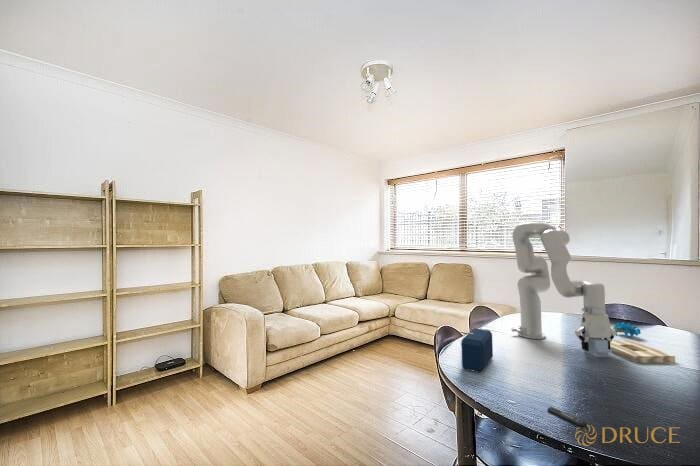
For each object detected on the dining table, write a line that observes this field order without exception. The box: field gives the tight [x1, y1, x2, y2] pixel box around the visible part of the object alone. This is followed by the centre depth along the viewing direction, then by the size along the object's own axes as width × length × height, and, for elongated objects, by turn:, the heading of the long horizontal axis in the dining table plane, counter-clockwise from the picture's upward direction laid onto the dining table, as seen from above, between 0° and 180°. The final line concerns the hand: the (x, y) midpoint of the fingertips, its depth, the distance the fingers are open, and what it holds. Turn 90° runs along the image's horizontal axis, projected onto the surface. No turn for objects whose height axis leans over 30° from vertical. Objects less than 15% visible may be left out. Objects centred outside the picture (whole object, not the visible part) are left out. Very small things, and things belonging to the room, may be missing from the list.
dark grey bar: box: [547, 406, 588, 429], centre depth 88 cm, size 10×3×2 cm, turn 28°
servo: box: [580, 338, 613, 358], centre depth 136 cm, size 5×11×7 cm, turn 179°
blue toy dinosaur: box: [612, 322, 642, 339], centre depth 159 cm, size 11×6×10 cm
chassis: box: [610, 339, 676, 364], centre depth 135 cm, size 16×20×3 cm
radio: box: [461, 327, 494, 373], centre depth 128 cm, size 21×9×20 cm, turn 145°
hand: (596, 350), depth 136 cm, fingers open, 8 cm apart
